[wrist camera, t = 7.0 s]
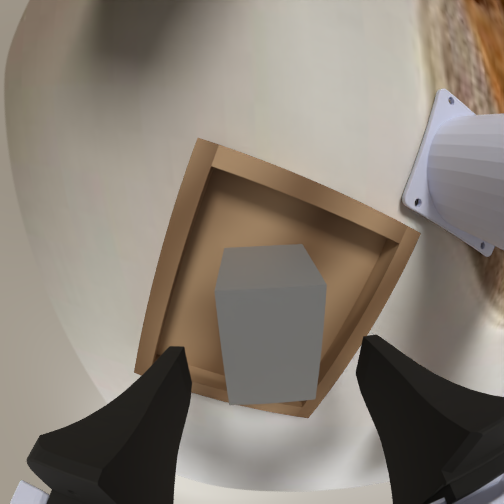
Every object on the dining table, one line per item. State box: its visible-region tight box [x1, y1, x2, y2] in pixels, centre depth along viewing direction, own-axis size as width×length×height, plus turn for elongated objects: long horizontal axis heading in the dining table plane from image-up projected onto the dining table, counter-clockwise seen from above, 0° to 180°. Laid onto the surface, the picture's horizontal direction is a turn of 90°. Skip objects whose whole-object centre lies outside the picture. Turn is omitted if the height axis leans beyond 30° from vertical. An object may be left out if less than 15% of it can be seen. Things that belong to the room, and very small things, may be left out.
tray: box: [134, 138, 421, 418], centre depth 16 cm, size 12×14×2 cm
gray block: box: [215, 244, 327, 405], centre depth 14 cm, size 8×4×5 cm, turn 3°
